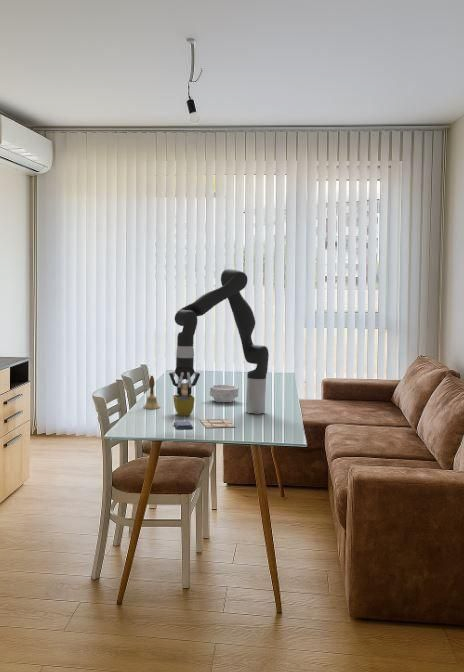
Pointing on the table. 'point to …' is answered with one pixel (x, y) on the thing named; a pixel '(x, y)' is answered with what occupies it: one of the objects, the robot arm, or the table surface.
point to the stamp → (184, 392)
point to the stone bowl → (224, 393)
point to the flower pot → (183, 405)
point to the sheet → (217, 423)
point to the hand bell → (151, 397)
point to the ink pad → (183, 425)
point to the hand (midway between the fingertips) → (184, 395)
